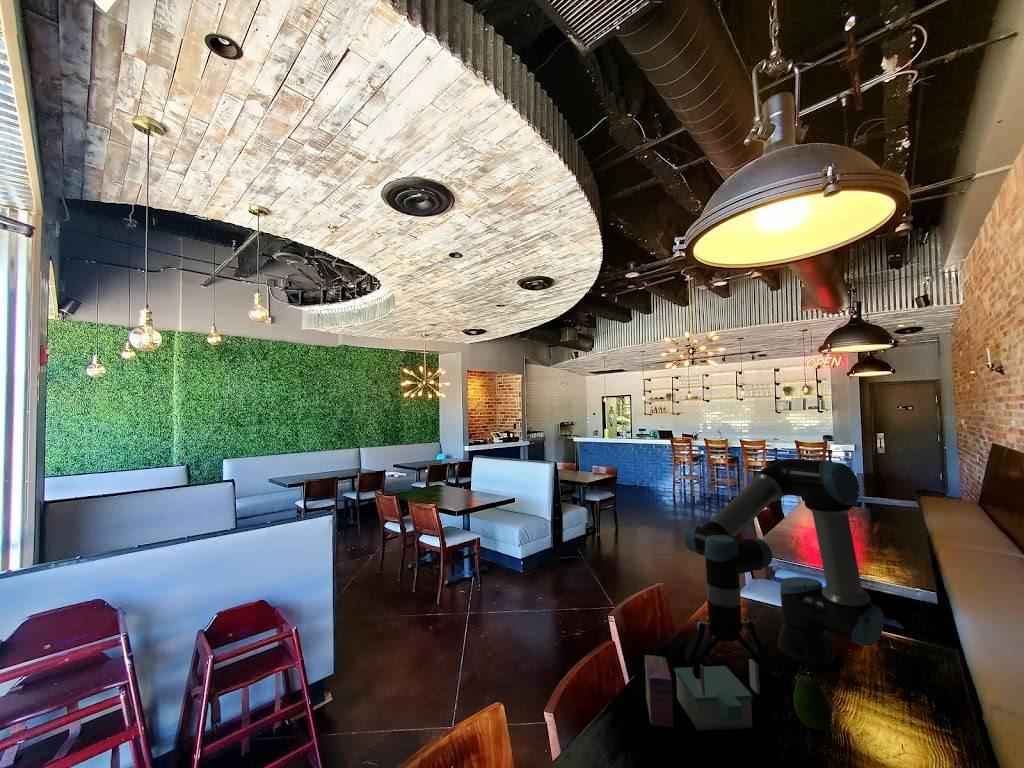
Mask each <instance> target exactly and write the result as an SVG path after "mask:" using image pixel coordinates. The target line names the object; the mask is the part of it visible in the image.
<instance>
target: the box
mask: <svg viewBox="0 0 1024 768" xmlns="http://www.w3.org/2000/svg"><path fill="white" fill-rule="evenodd" d="M644 667H645V668H644V670H645V671H644V672H645V698H646V703H647V710H648V716H649V721H650V722H649V723H650V725H651V726H657V727H663V728H674V713H673V712H674V708H673V706H674V704H673V678H672V676H671V672H670V669H669V664H668V661H667V657H665V656H660V655H659V656H658V655H650V654H649V655H647V654H645V655H644Z"/></svg>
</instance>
